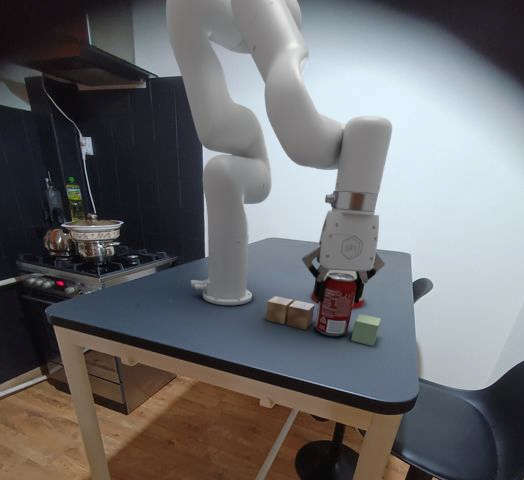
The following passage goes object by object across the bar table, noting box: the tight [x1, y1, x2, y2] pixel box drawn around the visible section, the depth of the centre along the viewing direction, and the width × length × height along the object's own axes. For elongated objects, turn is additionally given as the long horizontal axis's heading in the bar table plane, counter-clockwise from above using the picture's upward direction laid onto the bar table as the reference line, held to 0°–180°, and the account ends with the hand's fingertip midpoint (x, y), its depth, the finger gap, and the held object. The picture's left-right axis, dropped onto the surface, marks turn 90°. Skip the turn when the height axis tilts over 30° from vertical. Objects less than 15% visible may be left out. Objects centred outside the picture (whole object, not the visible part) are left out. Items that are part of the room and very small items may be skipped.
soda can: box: [314, 272, 357, 338], centre depth 65 cm, size 7×7×12 cm
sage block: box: [350, 313, 382, 347], centre depth 64 cm, size 4×4×4 cm
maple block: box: [265, 295, 294, 325], centre depth 71 cm, size 4×4×4 cm
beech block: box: [286, 299, 316, 330], centre depth 69 cm, size 4×4×4 cm
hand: (336, 299), depth 64 cm, fingers closed on soda can, 6 cm apart
